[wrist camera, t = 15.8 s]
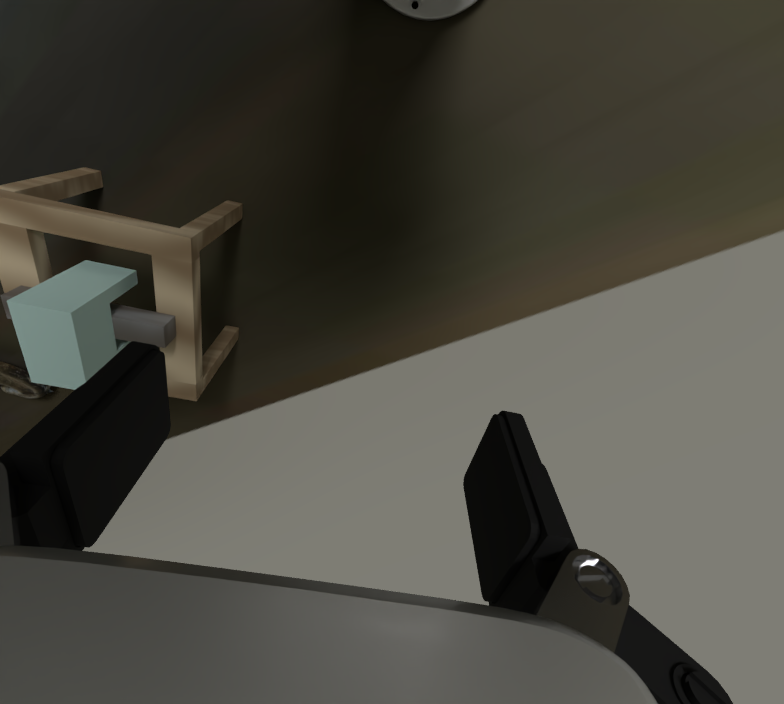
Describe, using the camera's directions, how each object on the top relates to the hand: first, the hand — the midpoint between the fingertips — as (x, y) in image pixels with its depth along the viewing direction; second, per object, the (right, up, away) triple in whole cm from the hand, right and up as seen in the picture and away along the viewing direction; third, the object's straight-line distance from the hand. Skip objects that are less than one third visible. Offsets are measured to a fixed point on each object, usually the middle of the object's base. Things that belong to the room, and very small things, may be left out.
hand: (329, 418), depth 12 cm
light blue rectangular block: (-22, +6, +24) cm, 33 cm away
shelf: (-22, +12, +32) cm, 41 cm away
